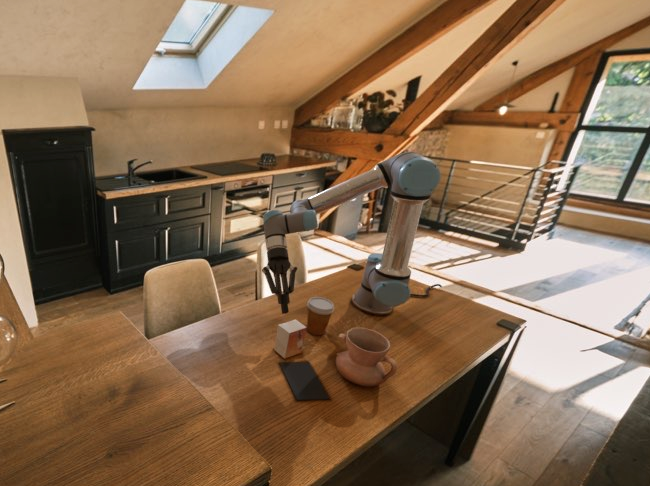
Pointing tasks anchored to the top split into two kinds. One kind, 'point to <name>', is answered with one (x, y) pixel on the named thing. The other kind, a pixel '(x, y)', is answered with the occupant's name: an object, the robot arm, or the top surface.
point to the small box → (290, 338)
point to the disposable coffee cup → (318, 314)
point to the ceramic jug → (364, 357)
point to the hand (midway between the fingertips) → (285, 312)
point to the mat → (303, 381)
